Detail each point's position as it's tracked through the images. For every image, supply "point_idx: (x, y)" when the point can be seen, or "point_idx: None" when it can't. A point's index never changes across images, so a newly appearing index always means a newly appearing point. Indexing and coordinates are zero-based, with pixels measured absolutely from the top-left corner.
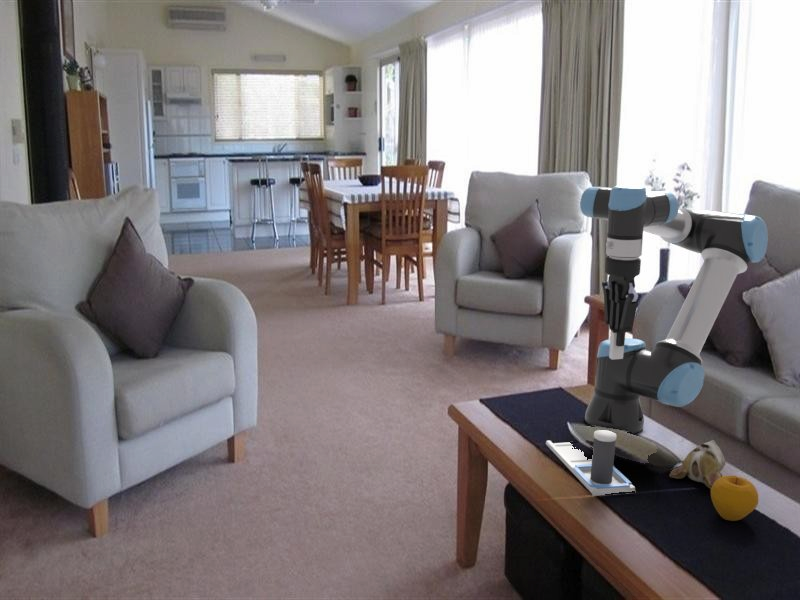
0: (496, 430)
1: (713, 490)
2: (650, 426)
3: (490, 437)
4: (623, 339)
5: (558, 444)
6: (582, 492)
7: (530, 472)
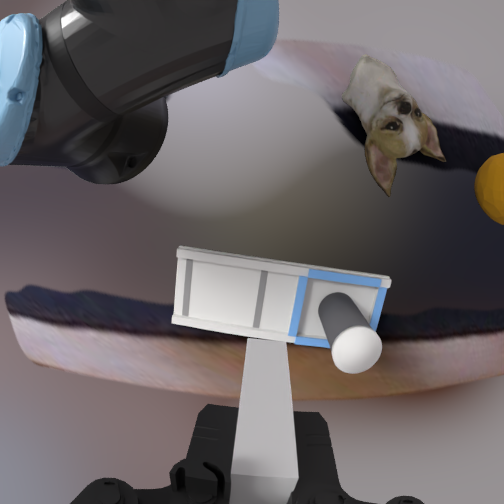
0: (105, 358)
1: (500, 219)
2: None
3: (130, 381)
4: (330, 456)
5: (181, 301)
6: None
7: None
